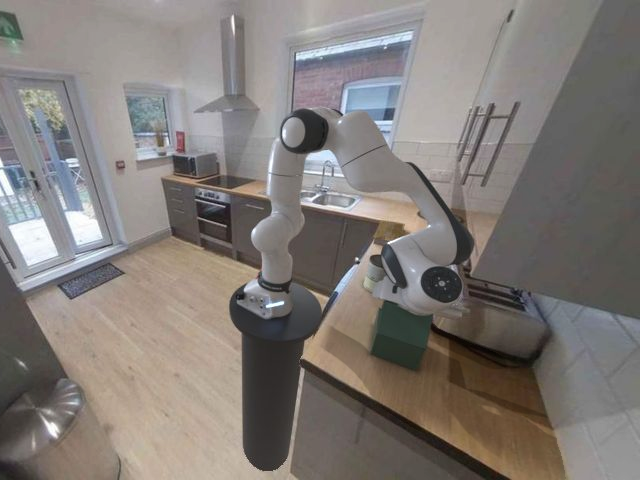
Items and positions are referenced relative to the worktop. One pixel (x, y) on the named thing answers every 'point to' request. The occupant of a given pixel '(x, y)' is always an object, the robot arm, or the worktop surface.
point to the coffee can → (374, 272)
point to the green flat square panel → (404, 325)
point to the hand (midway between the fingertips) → (408, 304)
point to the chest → (395, 348)
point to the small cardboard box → (388, 227)
